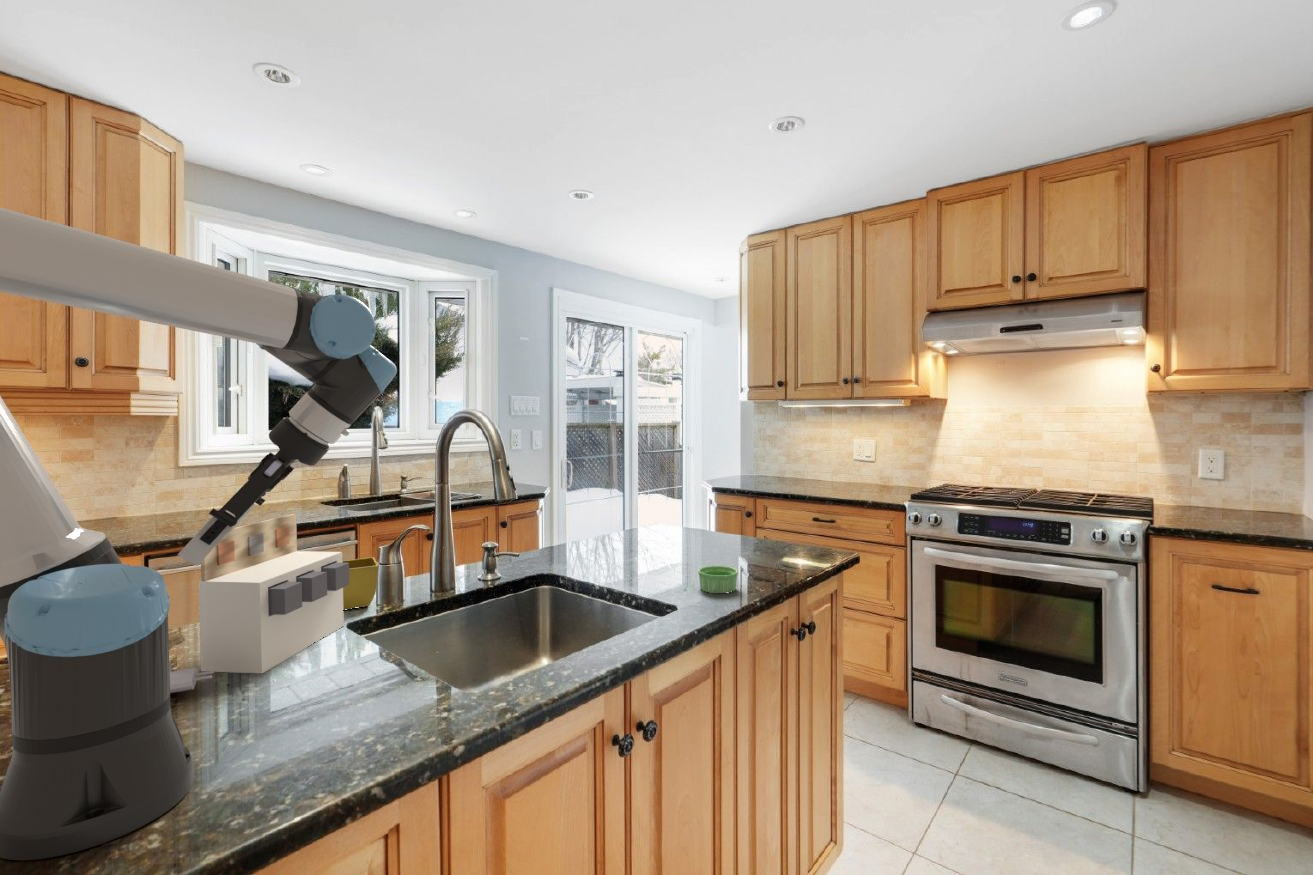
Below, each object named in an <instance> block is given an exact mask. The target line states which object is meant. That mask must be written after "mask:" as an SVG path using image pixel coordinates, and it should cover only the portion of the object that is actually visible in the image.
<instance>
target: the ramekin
mask: <svg viewBox="0 0 1313 875" xmlns="http://www.w3.org/2000/svg"><path fill="white" fill-rule="evenodd" d="M697 572H698V573H697V574H698V576H699V587H700V590H701V589H702V590H703V591H702V590H701V591H702V592H704V591H706V592H705V593H707V592H710V593H709V594H711V593H726V592H731V591H733V590H735V591H736V589H737V579H738V578H737V577H738V573H739V571H738V569H736V568H735V567H732V566H731V567H730V566H724V565H707V566H703V567H701V568H698V570H697ZM733 592H734V591H733ZM731 593H732V592H731Z"/></svg>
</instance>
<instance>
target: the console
mask: <svg viewBox="0 0 1313 875" xmlns="http://www.w3.org/2000/svg"><path fill="white" fill-rule="evenodd" d="M342 561H343V552H342V551H316V550H315V551H306V550H305V551H301V550H297V551H296V552H293V553H290V554H287V555H284V556H281V557H278V558H275V559H272V560H269V561H266V562H263V563H260V564H256V565H253V566H250V567H247V568H244V569H241V570H238V571H235V572H232V573H229V574H226V575H223V576H220V577H217V578H214V579H211V580H208V581H201V580H198V583H197V584H198V613H199V648H200V650H199V651H200V672H208V671H214V673H237V674H261V675H262V674H264V673H266V672H268V671H270V670H271V669H272V668H275V667H276V666H278V665H280V664H281V663H284V661H285V662H286V660H288V659H290V658H292V657H293V656H296V655H297V654H299V653H300V652H302V651H304V650H305V649H307V648H309V647H311V646H312V645H314V644H315V643H314V642H316V643H317V641H318V642H319V641H321V640H322V638H323V637H324V638H326V637H328V636H330V635H331V634H333V633H335V632H336V630H337V631H338V630H340V629H341V627H342V626H343V625H344V626H345V623H344V621H345V620H344V617H345V616H344V613H345V612H344V611H343V588H341V589H339V590H337V591H327V595H326V596H324V597H322V598H320V599H318V600H315V601H313V602H302V607H301V608H298V609H296V610H294V611H292V612H290V613H288V614H286V615H278V614H269V609H268V587H271V586H273V585H276V584H278V583H281V582H296V576H299V575H302V574H304V573H307V572H321V567H322V566H325V565H327V564H330V563H342ZM339 628H340V629H339ZM342 628H343V627H342ZM334 631H335V632H334ZM332 632H333V633H332ZM330 633H331V634H330ZM329 634H330V635H329ZM325 636H326V637H325ZM324 638H323V639H324ZM320 639H321V640H320ZM313 643H314V644H313ZM311 644H312V645H311ZM310 645H311V646H310ZM308 646H309V647H308ZM303 649H304V650H303Z"/></svg>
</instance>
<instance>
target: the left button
mask: <svg viewBox="0 0 1313 875" xmlns="http://www.w3.org/2000/svg"><path fill="white" fill-rule="evenodd" d="M301 607H302V582H281V583H278V584H276V585H273V586H271V587H268V609H269V614H278V615H286V614H288V613H290V612H292V611H294V610H296V609H298V608H301Z"/></svg>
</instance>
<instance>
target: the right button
mask: <svg viewBox="0 0 1313 875" xmlns="http://www.w3.org/2000/svg"><path fill="white" fill-rule="evenodd" d="M321 572H327V591H337V590H339V589H341V588H343V587H345V586H347V585H349V563H330V564H327V565H325V566H322V567H321Z"/></svg>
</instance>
